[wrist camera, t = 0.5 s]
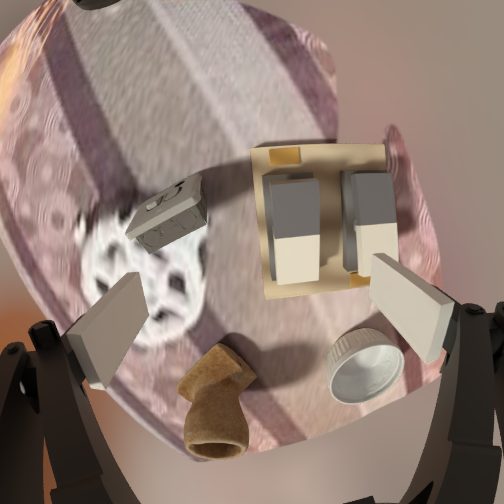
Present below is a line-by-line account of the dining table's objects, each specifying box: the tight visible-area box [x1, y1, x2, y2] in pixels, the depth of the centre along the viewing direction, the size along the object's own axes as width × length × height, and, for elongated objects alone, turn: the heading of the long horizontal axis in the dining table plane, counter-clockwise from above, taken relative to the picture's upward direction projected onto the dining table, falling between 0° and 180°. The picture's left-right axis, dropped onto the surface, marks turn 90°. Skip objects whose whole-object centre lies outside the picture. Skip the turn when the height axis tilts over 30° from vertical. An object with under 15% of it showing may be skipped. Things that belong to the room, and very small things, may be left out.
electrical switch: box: [125, 173, 207, 254], centre depth 31 cm, size 9×5×9 cm, turn 115°
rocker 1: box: [269, 178, 320, 285], centre depth 31 cm, size 12×5×2 cm, turn 6°
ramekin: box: [326, 328, 404, 404], centre depth 40 cm, size 13×13×7 cm
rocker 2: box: [351, 173, 398, 277], centre depth 31 cm, size 12×5×2 cm, turn 6°
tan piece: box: [177, 343, 257, 460], centre depth 37 cm, size 15×12×15 cm
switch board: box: [250, 144, 387, 300], centre depth 35 cm, size 20×18×4 cm
